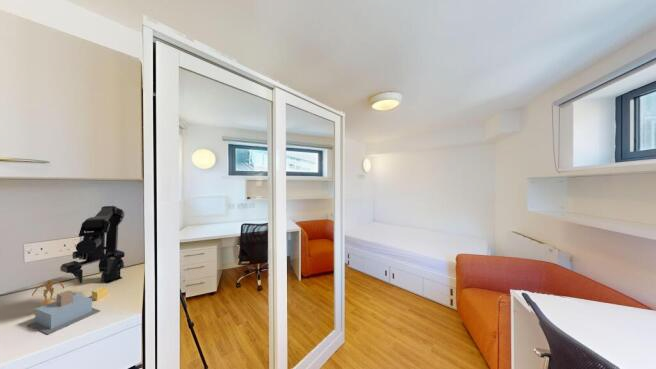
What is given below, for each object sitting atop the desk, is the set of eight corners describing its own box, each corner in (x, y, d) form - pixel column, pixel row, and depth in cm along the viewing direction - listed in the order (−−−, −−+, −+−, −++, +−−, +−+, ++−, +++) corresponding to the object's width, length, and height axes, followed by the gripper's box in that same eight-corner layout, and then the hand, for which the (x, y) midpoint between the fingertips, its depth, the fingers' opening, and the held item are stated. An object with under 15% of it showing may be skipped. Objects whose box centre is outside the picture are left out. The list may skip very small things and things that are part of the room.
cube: (103, 294, 99) (103, 286, 98) (108, 296, 97) (108, 288, 97) (91, 299, 95) (91, 291, 95) (97, 300, 94) (97, 292, 94)
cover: (91, 311, 86) (92, 288, 86) (50, 329, 75) (51, 303, 75) (76, 305, 89) (77, 283, 89) (35, 322, 78) (35, 297, 78)
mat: (80, 304, 91) (80, 303, 91) (100, 311, 87) (100, 310, 87) (27, 325, 77) (27, 324, 77) (47, 334, 73) (47, 333, 73)
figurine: (30, 315, 82) (30, 287, 82) (32, 309, 86) (33, 282, 86) (63, 306, 89) (63, 280, 88) (64, 300, 92) (64, 275, 92)
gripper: (111, 237, 103) (111, 266, 103) (53, 249, 85) (53, 284, 85) (125, 240, 99) (124, 270, 100) (67, 253, 81) (67, 290, 82)
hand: (95, 278), depth 92 cm, fingers open, 9 cm apart
